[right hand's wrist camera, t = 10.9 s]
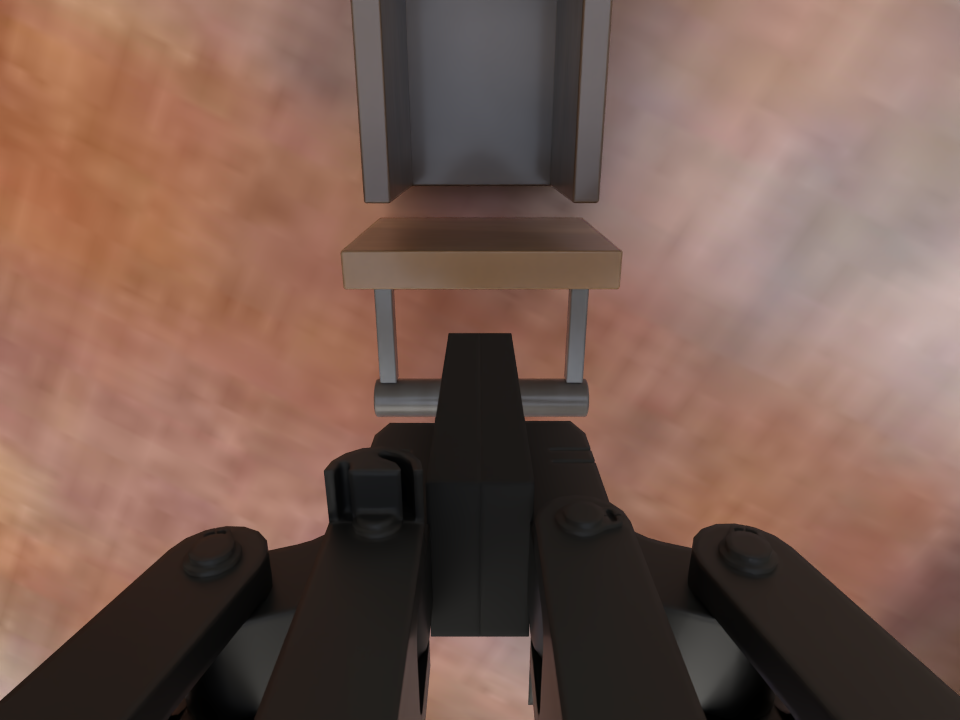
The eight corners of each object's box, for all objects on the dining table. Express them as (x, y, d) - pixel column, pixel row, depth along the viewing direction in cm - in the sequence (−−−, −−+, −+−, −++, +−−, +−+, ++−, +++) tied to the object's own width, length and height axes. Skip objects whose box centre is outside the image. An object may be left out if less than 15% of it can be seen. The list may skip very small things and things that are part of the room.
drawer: (574, 362, 27) (607, 441, 20) (388, 362, 27) (355, 442, 20) (618, -385, 19) (703, -702, 12) (344, -385, 19) (260, -701, 12)
